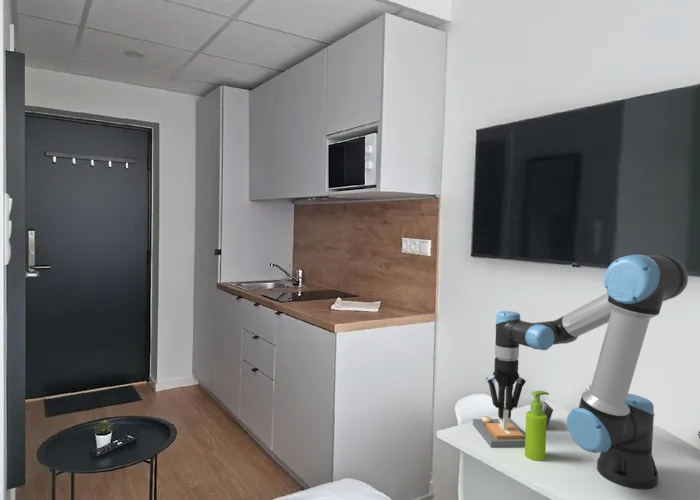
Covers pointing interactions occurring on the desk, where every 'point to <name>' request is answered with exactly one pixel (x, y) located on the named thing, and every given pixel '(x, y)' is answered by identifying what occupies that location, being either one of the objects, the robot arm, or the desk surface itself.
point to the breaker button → (504, 431)
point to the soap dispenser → (536, 429)
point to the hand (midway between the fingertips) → (504, 427)
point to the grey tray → (493, 443)
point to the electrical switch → (547, 412)
